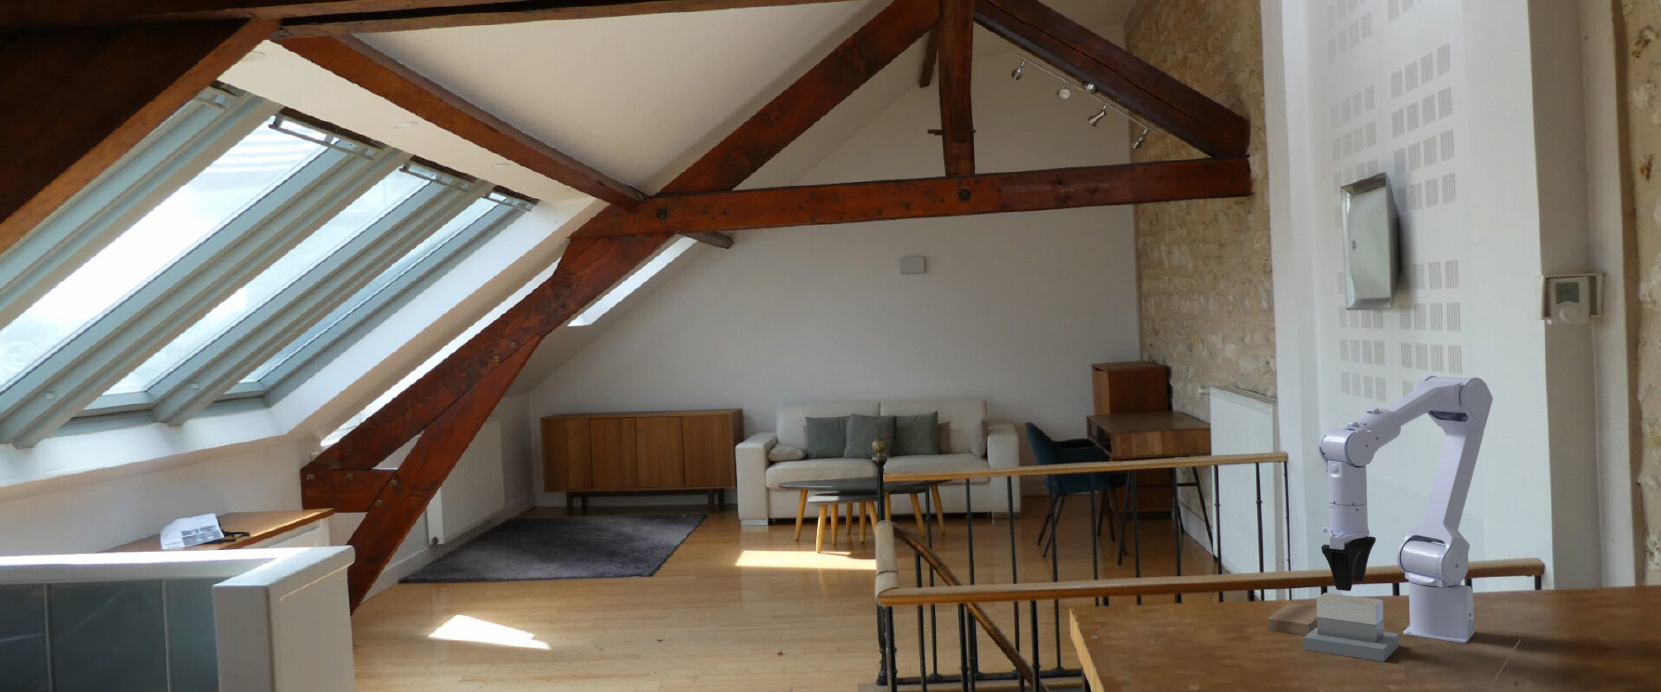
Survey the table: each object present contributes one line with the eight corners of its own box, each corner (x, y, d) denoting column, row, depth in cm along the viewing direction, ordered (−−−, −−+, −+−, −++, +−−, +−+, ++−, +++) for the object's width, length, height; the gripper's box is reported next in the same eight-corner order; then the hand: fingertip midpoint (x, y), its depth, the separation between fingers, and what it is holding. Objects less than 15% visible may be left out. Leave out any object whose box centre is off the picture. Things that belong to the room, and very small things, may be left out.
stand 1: (1329, 619, 197) (1329, 608, 197) (1309, 636, 188) (1309, 624, 188) (1289, 614, 202) (1288, 603, 202) (1267, 629, 192) (1267, 618, 192)
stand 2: (1399, 645, 181) (1398, 633, 181) (1383, 661, 173) (1383, 649, 173) (1322, 634, 188) (1321, 622, 188) (1304, 649, 181) (1303, 637, 181)
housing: (1325, 627, 185) (1324, 592, 185) (1383, 636, 180) (1382, 599, 180) (1317, 634, 182) (1316, 598, 182) (1376, 643, 176) (1375, 605, 176)
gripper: (1334, 494, 188) (1336, 573, 189) (1308, 507, 177) (1311, 591, 178) (1379, 497, 184) (1381, 578, 184) (1355, 511, 173) (1358, 597, 173)
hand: (1350, 585), depth 181 cm, fingers open, 7 cm apart
